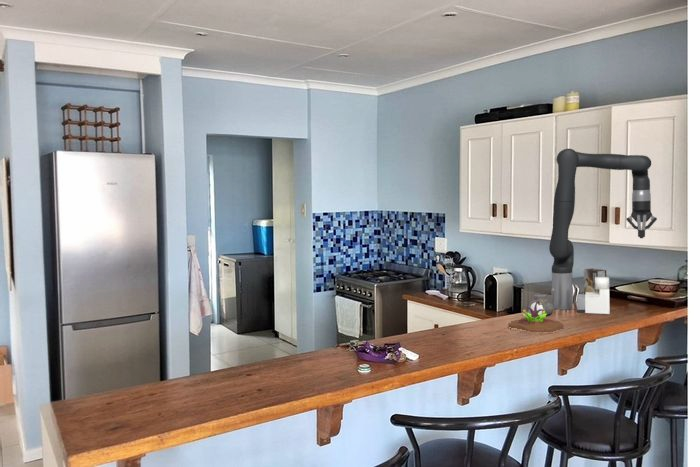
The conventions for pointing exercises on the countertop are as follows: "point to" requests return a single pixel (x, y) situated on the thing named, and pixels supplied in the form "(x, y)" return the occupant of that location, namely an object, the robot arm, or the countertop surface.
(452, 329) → the countertop surface
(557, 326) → the plant
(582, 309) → the duct stub
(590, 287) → the coffee box
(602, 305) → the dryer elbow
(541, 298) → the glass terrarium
